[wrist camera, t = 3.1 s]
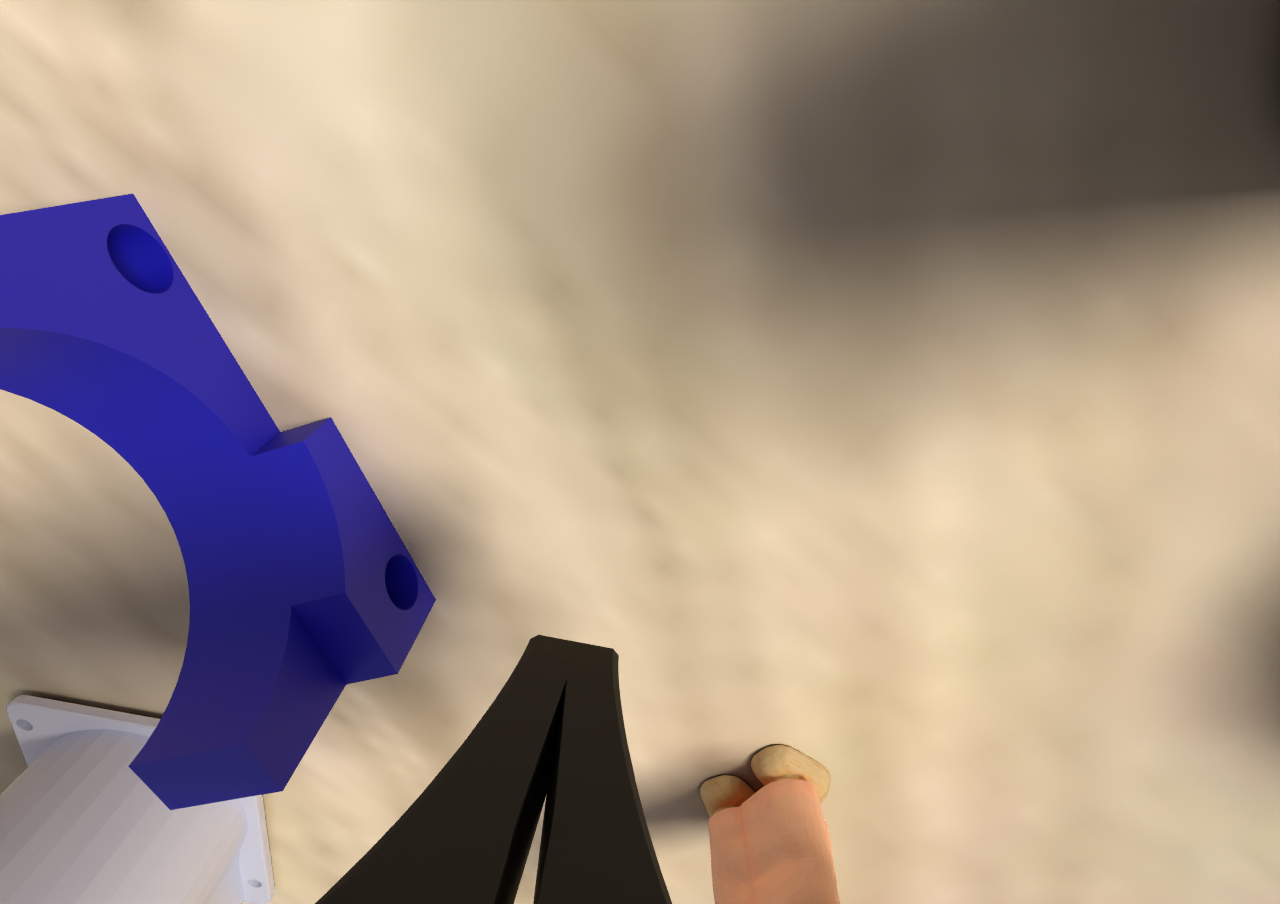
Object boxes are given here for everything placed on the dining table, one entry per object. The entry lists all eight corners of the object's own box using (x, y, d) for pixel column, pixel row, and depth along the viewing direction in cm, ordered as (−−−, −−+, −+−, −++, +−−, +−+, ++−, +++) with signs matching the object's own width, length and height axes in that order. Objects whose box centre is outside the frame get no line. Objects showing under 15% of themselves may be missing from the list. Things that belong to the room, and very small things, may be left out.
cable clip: (437, 595, 20) (342, 780, 14) (306, 626, 20) (170, 810, 15) (194, 170, 14) (-95, 209, 9) (34, 235, 15) (-314, 305, 10)
